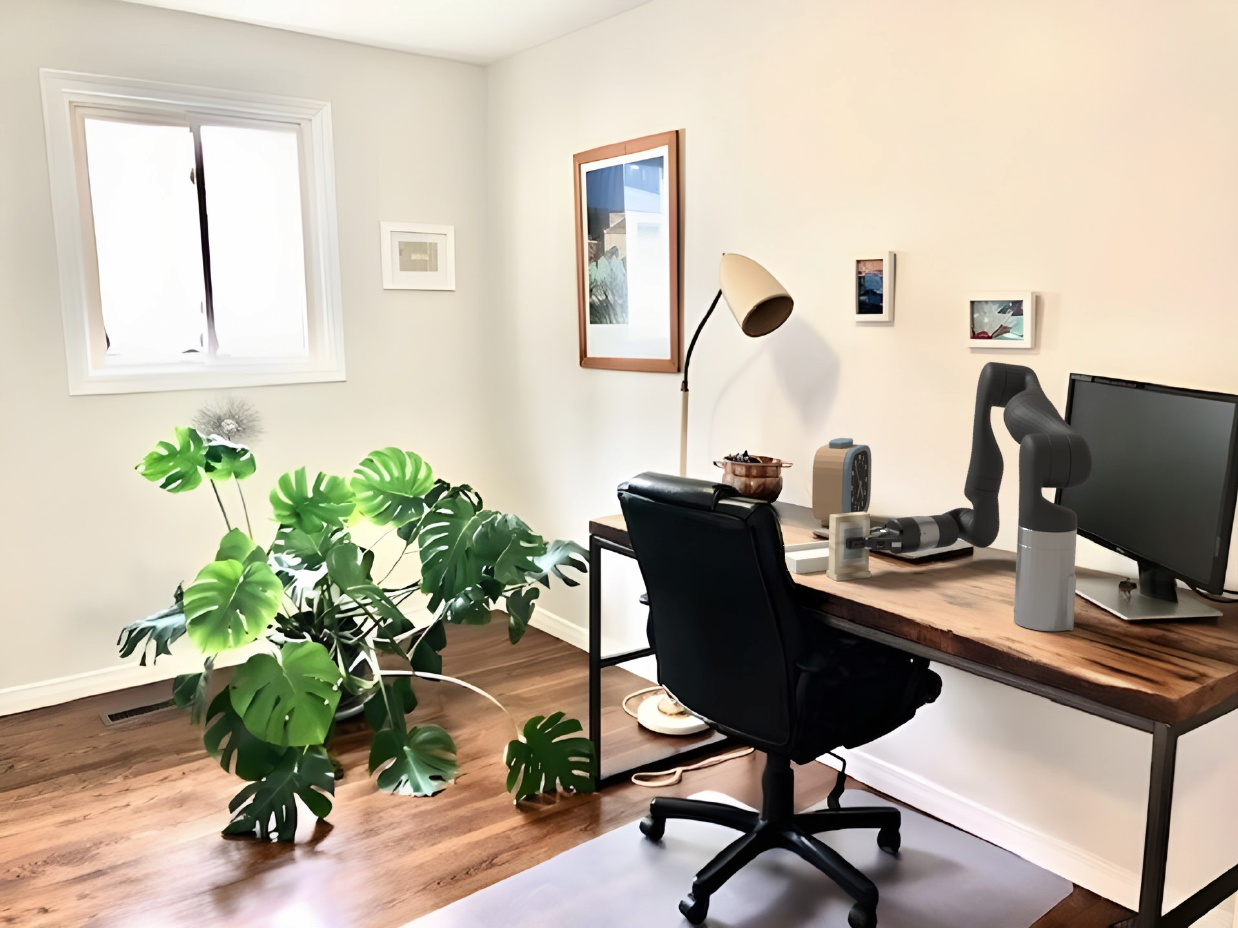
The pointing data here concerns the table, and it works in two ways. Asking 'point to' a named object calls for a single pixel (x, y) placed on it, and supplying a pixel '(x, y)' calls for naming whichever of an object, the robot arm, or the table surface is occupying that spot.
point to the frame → (840, 558)
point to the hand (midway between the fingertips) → (842, 542)
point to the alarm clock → (841, 479)
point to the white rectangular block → (807, 557)
